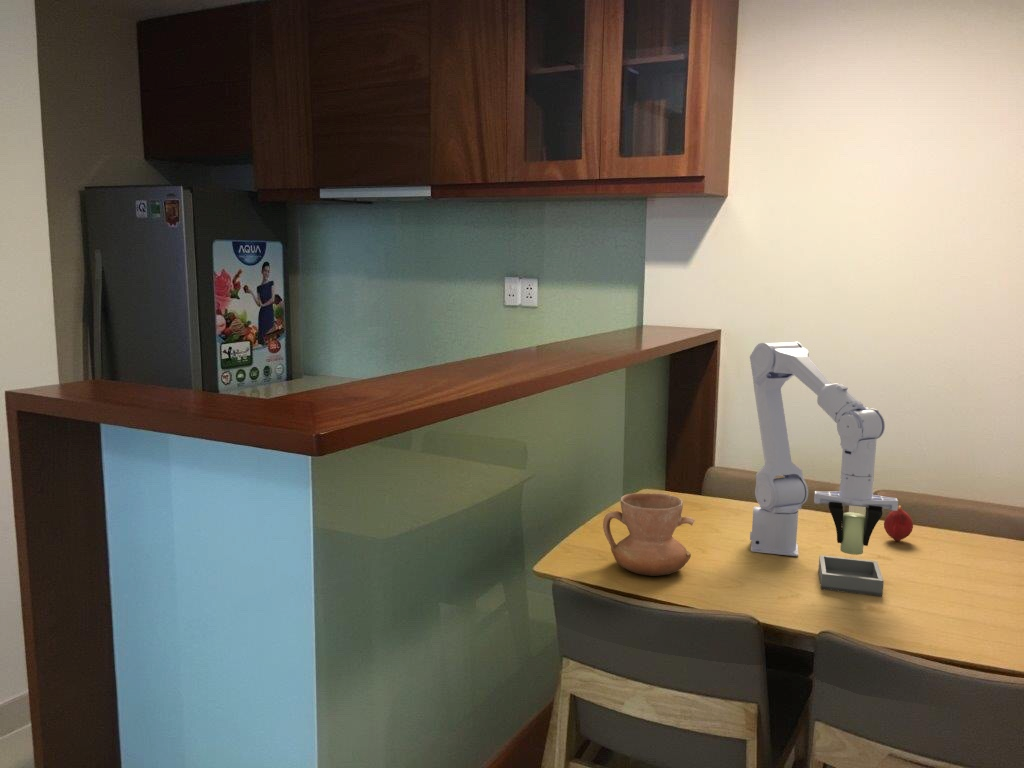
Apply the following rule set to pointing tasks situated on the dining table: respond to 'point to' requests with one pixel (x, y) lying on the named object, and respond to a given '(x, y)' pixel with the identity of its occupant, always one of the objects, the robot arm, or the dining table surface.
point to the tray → (850, 575)
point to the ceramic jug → (649, 534)
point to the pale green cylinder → (853, 533)
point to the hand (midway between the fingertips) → (852, 542)
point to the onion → (898, 524)
